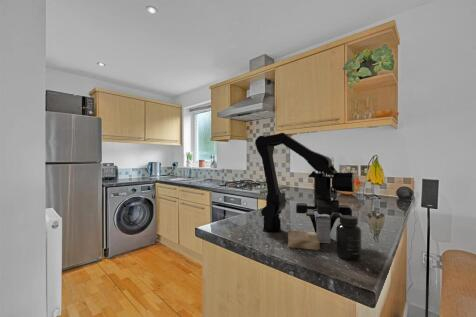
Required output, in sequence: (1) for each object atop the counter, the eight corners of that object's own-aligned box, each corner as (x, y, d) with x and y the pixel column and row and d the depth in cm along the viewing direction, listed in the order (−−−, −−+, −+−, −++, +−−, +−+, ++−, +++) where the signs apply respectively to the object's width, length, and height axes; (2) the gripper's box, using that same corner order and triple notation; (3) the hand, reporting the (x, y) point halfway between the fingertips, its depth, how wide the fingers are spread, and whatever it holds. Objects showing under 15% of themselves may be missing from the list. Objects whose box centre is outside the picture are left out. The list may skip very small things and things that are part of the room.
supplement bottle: (331, 252, 70) (332, 214, 70) (352, 251, 71) (352, 213, 71) (344, 262, 63) (344, 220, 63) (366, 261, 64) (366, 219, 64)
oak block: (287, 248, 74) (288, 239, 74) (288, 238, 84) (288, 230, 84) (319, 251, 72) (319, 241, 72) (316, 240, 82) (316, 232, 82)
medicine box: (330, 244, 77) (330, 219, 77) (317, 242, 78) (317, 218, 78) (327, 236, 85) (327, 213, 85) (314, 235, 86) (314, 213, 86)
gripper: (296, 192, 76) (296, 238, 75) (356, 194, 71) (356, 242, 71) (295, 188, 86) (295, 228, 86) (347, 189, 82) (348, 232, 82)
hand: (322, 232), depth 81 cm, fingers closed on medicine box, 4 cm apart
